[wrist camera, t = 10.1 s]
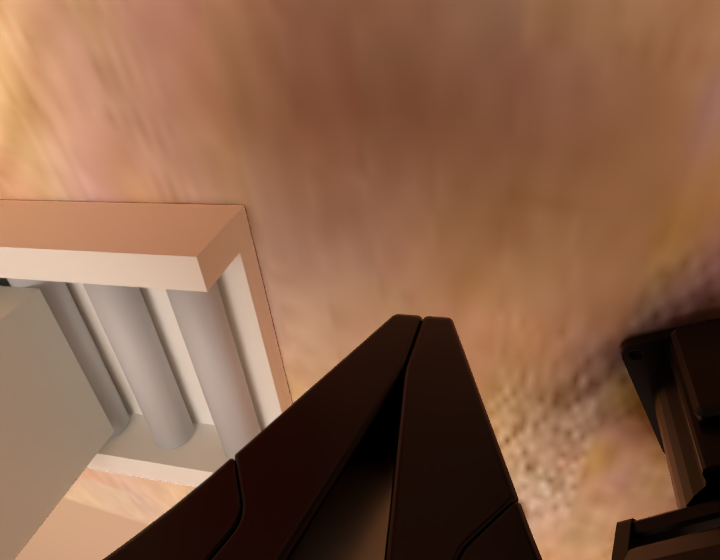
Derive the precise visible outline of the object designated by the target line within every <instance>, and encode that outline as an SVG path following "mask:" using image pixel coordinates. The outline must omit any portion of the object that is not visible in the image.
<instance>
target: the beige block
mask: <svg viewBox="0 0 720 560" xmlns="http://www.w3.org/2000/svg"><path fill="white" fill-rule="evenodd" d="M113 432H114V429H113V428H112V426H111V424H110V422H109V420H108V418H107V416H106V414H105V412H104V410H103V409H102V407H101V405H100V403H99V401H98V399H97V397H96V395H95V393H94V391H93V390H92V388H91V386H90V384H89V382H88V380H87V378H86V376H85V374H84V373H83V371H82V369H81V367H80V365H79V363H78V361H77V359H76V357H75V355H74V354H73V352H72V350H71V348H70V346H69V344H68V342H67V340H66V338H65V336H64V335H63V333H62V331H61V329H60V327H59V325H58V323H57V321H56V319H55V317H54V316H53V314H52V312H51V310H50V308H49V306H48V304H47V302H46V300H45V299H44V297H43V295H42V293H41V291H40V289H39V288H24V287H9V286H0V560H14V559H15V558H16V557H17V556H18V554H19V553H20V552H21V550H22V549H23V548H24V547H25V545H26V544H27V543H28V541H29V540H30V539H31V538H32V536H33V535H34V534H35V532H36V531H37V530H38V529H39V527H40V526H41V525H42V523H43V522H44V521H45V520H46V518H47V517H48V516H49V514H50V513H51V512H52V511H53V509H54V508H55V507H56V505H57V504H58V503H59V502H60V500H61V499H62V498H63V496H64V495H65V494H66V493H67V491H68V490H69V489H70V487H71V486H72V485H73V484H74V482H75V481H76V480H77V478H78V477H79V476H80V475H81V473H82V472H83V471H84V469H85V468H86V467H87V466H88V464H89V463H90V462H91V460H92V459H93V458H94V457H95V455H96V454H97V453H98V451H99V450H100V449H101V448H102V446H103V445H104V444H105V442H106V441H107V440H108V439H109V437H110V436H111V435H112V433H113Z"/></svg>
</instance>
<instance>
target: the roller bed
mask: <svg viewBox="0 0 720 560" xmlns="http://www.w3.org/2000/svg"><path fill="white" fill-rule="evenodd" d="M0 286H9V287H24V288H39V289H40V291H41V293H42V295H43V297H44V299H45V300H46V302H47V304H48V306H49V308H50V310H51V312H52V314H53V316H54V317H55V319H56V321H57V323H58V325H59V327H60V329H61V331H62V333H63V335H64V336H65V338H66V340H67V342H68V344H69V346H70V348H71V350H72V352H73V354H74V355H75V357H76V359H77V361H78V363H79V365H80V367H81V369H82V371H83V373H84V374H85V376H86V378H87V380H88V382H89V384H90V386H91V388H92V390H93V391H94V393H95V395H96V397H97V399H98V401H99V403H100V405H101V407H102V409H103V410H104V412H105V414H106V416H107V418H108V420H109V422H110V424H111V426H112V428H113V429H114V432H113V433H112V435H111V436H110V437H109V439H108V440H107V441H106V442H105V444H104V445H103V446H102V448H101V449H100V450H99V451H98V453H97V454H96V455H95V457H94V458H93V459H92V460H91V462H90V463H89V464H88V466H87V467H86V468H89V469H95V470H100V471H106V472H112V473H117V474H123V475H129V476H134V477H140V478H146V479H152V480H157V481H163V482H169V483H174V484H180V485H186V486H191V487H198V486H199V485H200V484H201V483H202V482H204V481H205V480H206V479H207V478H208V477H209V476H211V475H212V474H213V473H214V472H215V471H216V470H217V469H219V468H220V467H221V466H222V465H223V464H224V463H225V462H227V461H228V460H229V459H231V458H232V459H234V460H235V454H236V453H237V452H238V451H239V450H241V449H242V448H243V447H244V446H245V445H246V444H247V443H249V442H250V441H251V440H252V439H253V438H254V437H255V436H257V435H258V434H259V433H260V432H261V431H262V430H263V429H265V428H266V427H267V426H268V425H269V424H270V423H271V422H272V421H274V420H275V419H276V418H277V417H278V416H279V415H280V414H282V413H283V412H284V411H285V410H286V409H287V408H288V407H290V406H291V405H292V401H291V397H290V393H289V388H288V384H287V380H286V376H285V372H284V368H283V364H282V359H281V355H280V351H279V347H278V343H277V339H276V335H275V331H274V326H273V322H272V318H271V314H270V310H269V306H268V302H267V297H266V293H265V289H264V285H263V281H262V277H261V273H260V269H259V264H258V260H257V256H256V252H255V248H254V244H253V240H252V235H251V231H250V227H249V223H248V219H247V215H246V211H245V207H244V205H210V204H166V203H121V202H76V201H32V200H0Z"/></svg>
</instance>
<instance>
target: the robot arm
mask: <svg viewBox="0 0 720 560" xmlns="http://www.w3.org/2000/svg"><path fill="white" fill-rule="evenodd" d="M620 349H621V355H622V359H623V361H624V363H625V366H626V368H627V370H628V373H629V375H630V377H631V379H632V382H633V384H634V386H635V389H636V391H637V393H638V395H639V398H640V400H641V402H642V405H643V407H644V409H645V411H646V414H647V416H648V418H649V421H650V423H651V425H652V427H653V430H654V432H655V434H656V436H657V439H658V441H659V443H660V446H661V448H662V450H663V452H664V453H665V454H666V459H667V463H668V467H669V472H670V476H671V480H672V484H673V489H674V493H675V497H676V501H677V506H678V509H677V510H673V511H669V512H666V513H662V514H658V515H655V516H651V517H647V518H644V519H640V520H635V519H633V518H632V519H628V520H625V521H621V522H617V525H616V532H615V539H614V546H613V553H612V560H720V318H717V319H712V320H708V321H704V322H700V323H695V324H691V325H687V326H683V327H678V328H674V329H670V330H666V331H661V332H657V333H653V334H649V335H644V336H640V337H636V338H631V339H629V340H626V341H625V342H623V343H622V345H621V347H620ZM633 350H639V351H640V352H638V353H631V351H633ZM103 560H542V558H541V555H540V553H539V550H538V548H537V545H536V543H535V541H534V538H533V536H532V533H531V530H530V528H529V525H528V522H527V520H526V517H525V514H524V512H523V509H522V506H521V504H520V503H518V496H517V494H516V491H515V488H514V485H513V483H512V480H511V477H510V475H509V472H508V469H507V466H506V464H505V461H504V458H503V456H502V453H501V450H500V447H499V445H498V442H497V439H496V437H495V434H494V431H493V428H492V426H491V423H490V420H489V418H488V415H487V412H486V409H485V407H484V404H483V401H482V398H481V396H480V393H479V390H478V388H477V385H476V382H475V379H474V377H473V374H472V371H471V369H470V366H469V363H468V360H467V358H466V355H465V352H464V350H463V347H462V344H461V341H460V339H459V336H458V333H457V331H456V328H455V325H454V322H453V321H452V319H450V318H446V317H432V316H427V317H425V318H424V319H422V317H420V316H418V315H404V314H396V315H394V316H392V317H391V318H390V319H389V320H388V321H387V322H385V323H384V324H383V325H382V326H381V327H380V328H379V329H377V330H376V331H375V332H374V333H373V334H372V335H371V336H369V337H368V338H367V339H366V340H365V341H364V342H363V343H361V344H360V345H359V346H358V347H357V348H356V349H355V350H353V351H352V352H351V353H350V354H349V355H348V356H347V357H345V358H344V359H343V360H342V361H341V362H340V363H339V364H337V365H336V366H335V367H334V368H333V369H332V370H331V371H329V372H328V373H327V374H326V375H325V376H324V377H323V378H322V379H320V380H319V381H318V382H317V383H316V384H315V385H314V386H312V387H311V388H310V389H309V390H308V391H307V392H306V393H304V394H303V395H302V396H301V397H300V398H299V399H298V400H296V401H295V402H294V403H293V404H292V405H291V406H290V407H288V408H287V409H286V410H285V411H284V412H283V413H282V414H280V415H279V416H278V417H277V418H276V419H275V420H274V421H272V422H271V423H270V424H269V425H268V426H267V427H266V428H265V429H263V430H262V431H261V432H260V433H259V434H258V435H257V436H255V437H254V438H253V439H252V440H251V441H250V442H249V443H247V444H246V445H245V446H244V447H243V448H242V449H241V450H239V451H238V452H237V453H236V454H235V460H234V459H232V458H231V459H229V460H228V461H227V462H225V463H224V464H223V465H222V466H221V467H220V468H219V469H217V470H216V471H215V472H214V473H213V474H212V475H211V476H209V477H208V478H207V479H206V480H205V481H204V482H202V483H201V484H200V485H199V486H198V487H196V488H195V489H194V490H193V491H192V492H190V493H189V494H188V495H187V496H186V497H184V498H183V499H182V500H181V501H180V502H178V503H177V504H176V505H175V506H174V507H172V508H171V509H170V510H168V511H167V512H166V513H164V514H163V515H162V516H160V517H159V518H158V519H157V520H155V521H154V522H153V523H151V524H150V525H149V526H147V527H146V528H145V529H144V530H142V531H141V532H140V533H138V534H137V535H136V536H134V537H133V538H132V539H130V540H129V541H128V542H126V543H125V544H124V545H122V546H121V547H120V548H118V549H117V550H115V551H114V552H113V553H111V554H110V555H108V556H107V557H106V558H104V559H103Z"/></svg>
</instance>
